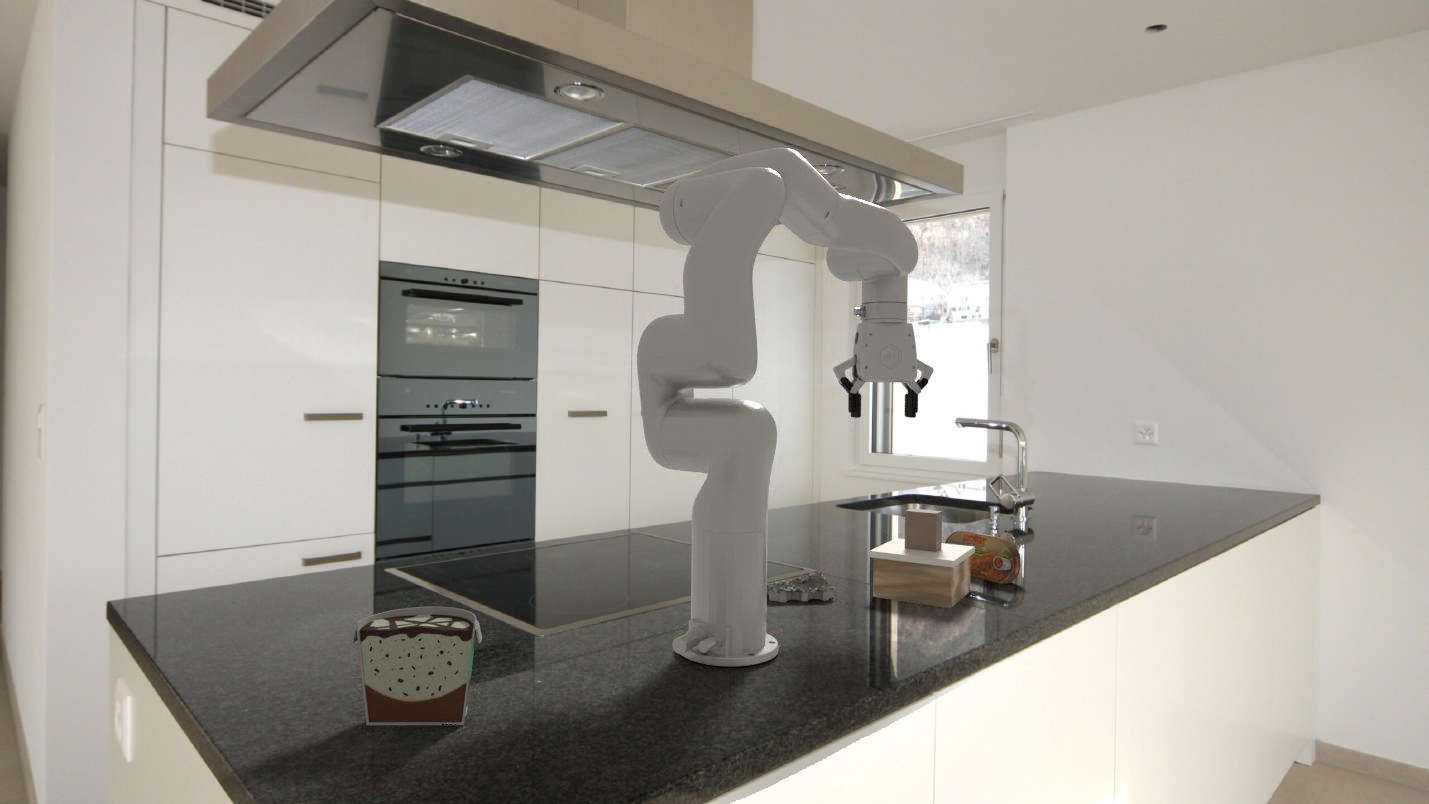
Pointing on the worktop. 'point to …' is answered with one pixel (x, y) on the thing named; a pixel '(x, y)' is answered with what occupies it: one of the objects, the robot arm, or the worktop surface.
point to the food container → (417, 665)
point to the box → (921, 582)
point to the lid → (923, 542)
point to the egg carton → (801, 588)
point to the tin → (990, 556)
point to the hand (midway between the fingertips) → (883, 417)
